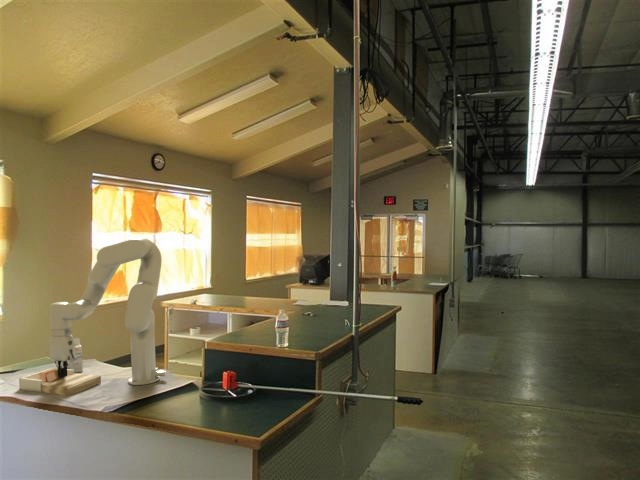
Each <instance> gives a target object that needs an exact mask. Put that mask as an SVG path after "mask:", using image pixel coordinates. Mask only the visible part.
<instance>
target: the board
mask: <svg viewBox="0 0 640 480" xmlns="http://www.w3.org/2000/svg"><path fill="white" fill-rule="evenodd" d="M101 378H102V377H101V375H94V374H85V373H79V372H76V373H73V374H70V375H67V376H66V377H63V378H58V379H55V380H52V381H49V382H47V383H44V384H41V392H40V393H46V394H53V395H59V396H65V397H66V396H68V397H69V396H72V395H75V394H77V393H80V392H82V391H84V389H85V390H87V389H90V388H91V386H92V387H94V385H95V386H97V385H96V384H98V385H100V384H101V383H102V379H101ZM99 383H100V384H99ZM89 387H90V388H89ZM86 388H87V389H86ZM81 390H82V391H81ZM79 391H80V392H79ZM76 392H77V393H76Z"/></svg>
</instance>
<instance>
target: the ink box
mask: <svg viewBox="0 0 640 480" xmlns="http://www.w3.org/2000/svg"><path fill="white" fill-rule="evenodd" d="M73 338H74V337H73ZM74 343H75V351H76V357H75V358H74V359H73V363H71V364H69V365H68V367H67V369H73V370H74V373H83V371H84V370H83V369H84V368H83V347H82V345H81V338H80V337H76V338H74Z"/></svg>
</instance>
